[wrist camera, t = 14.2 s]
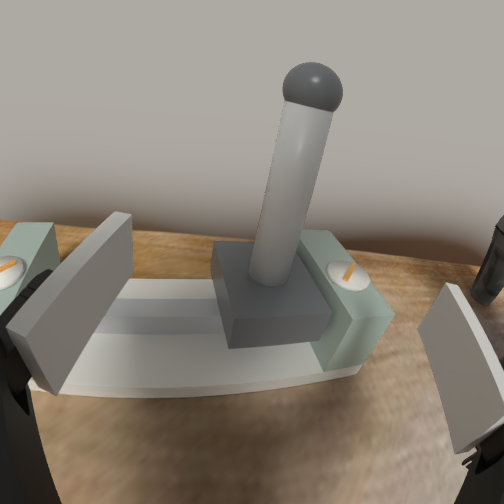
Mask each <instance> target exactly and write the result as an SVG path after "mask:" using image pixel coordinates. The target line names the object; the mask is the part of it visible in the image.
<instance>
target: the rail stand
mask: <svg viewBox="0 0 504 504" xmlns="http://www.w3.org/2000/svg"><path fill="white" fill-rule="evenodd" d="M296 252H297V254H298V256H299V257H300V259H301V261H302V262H303V264H304V265H305V267H306V269H307V270H308V272H309V274H310V275H311V277H312V279H313V280H314V282H315V284H316V285H317V287H318V289H319V290H320V292H321V294H322V295H323V297H324V299H325V300H326V302H327V304H328V305H329V307H330V309H331V310H332V312H333V313H332V315H331V317H330V319H329V322H328V324H327V326H326V328H325V330H324V332H323V334H322V336H321V338H320V340H319V341H312V342H304V343H295V344H285V345H274V346H263V347H250V348H236V349H228V345H227V341H226V337H225V332H224V328H223V324H222V320H221V315H220V311H219V307H218V302H217V298H216V293H215V289H214V284H213V280H212V279H129V280H128V281H127V283H126V284H125V286H124V287H123V289H122V290H121V291H120V293H119V294H118V296H117V297H116V299H115V300H114V302H113V304H112V305H111V307H110V308H109V310H108V311H107V313H106V314H105V316H104V317H103V319H102V320H101V322H100V324H99V325H98V327H97V328H96V330H95V332H94V333H93V335H92V336H91V338H90V340H89V341H88V343H87V345H86V346H85V348H84V350H83V351H82V353H81V355H80V356H79V358H78V360H77V361H76V363H75V365H74V366H73V368H72V370H71V372H70V373H69V375H68V377H67V379H66V380H65V382H64V384H63V386H62V388H61V389H60V391H59V394H69V395H81V396H95V397H115V398H180V397H201V396H216V395H228V394H239V393H248V392H257V391H265V390H272V389H280V388H286V387H293V386H299V385H305V384H311V383H316V382H322V381H327V380H332V379H337V378H341V377H346V376H351V375H355V374H357V373H358V371H359V370H360V368H361V367H362V365H363V364H364V362H365V361H366V360H367V358H368V357H369V355H370V354H371V352H372V351H373V349H374V347H375V346H376V344H377V343H378V341H379V340H380V338H381V337H382V335H383V333H384V332H385V330H386V329H387V327H388V325H389V324H390V322H391V320H392V319H393V317H394V315H395V313H394V311H393V310H392V309H391V307H390V306H389V305H388V303H387V302H386V301H385V299H384V298H383V297H382V296H381V294H380V293H379V292H378V290H377V289H376V288H375V286H374V285H373V284H372V283H371V281H370V278H369V275H368V274H367V272H366V271H365V270H364V269H362V268H361V267H360V266H358V265H357V264H356V262H355V261H354V260H353V259H352V257H351V256H350V255H349V254H348V252H347V251H346V250H345V249H344V248H343V246H342V245H341V244H340V243H339V241H338V240H337V239H336V238H335V237H334V236H333V234H332V233H331V232H330V231H329V230H311V229H302V232H301V235H300V239H299V242H298V246H297V249H296ZM60 264H61V261H60V256H59V251H58V245H57V240H56V233H55V227H54V223H17V224H16V225H15V227H14V228H13V229H12V231H11V232H10V234H9V235H8V236H7V238H6V239H5V241H4V242H3V244H2V245H1V247H0V315H1V314H2V313H3V311H4V310H5V309H6V308H7V307H8V306H9V304H10V303H11V302H12V301H13V300H14V299H15V298H16V297H17V296H19V293H20V292H21V291H22V290H23V289H24V288H26V286H27V284H28V283H29V282H30V281H31V280H32V279H33V278H34V277H35V276H36V275H38V274H40V273H41V272H43V271H45V270H47V269H50V270H53V271H54V270H55V269H56V268H57V267H58V266H59V265H60ZM28 386H29V388H30V390H35V391H43V392H47V391H45V390H43V389H41V388H39V387H38V386H37V384H36V383H35V381H34V379H33V378H32V377H31V379H30V380H29V382H28Z"/></svg>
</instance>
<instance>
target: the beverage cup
mask: <svg viewBox="0 0 504 504" xmlns="http://www.w3.org/2000/svg"><path fill="white" fill-rule="evenodd" d="M495 227H496V228H495V231H494V234H493V237H492V242H491V244H490V247H489V249H488V252H487V254H486V256H485V259H484V261H483V264H482V265H481V268H480V270H479V272H478V274H477V276H476V279H475V281H474V283H473V286H472V288H471V290H470V293H471V295H472V297H473V298H474V299H475V300H476V301H477V302H479V303H480V304H482V305H484V306H489V305H490V303H491V302H492V301H493V300H494V299H495V298H496V296H497V295H498V294H499V292H500V291H501V290H502V288H503V287H504V216H503V217H502V218H501V219H500V220H499V222H498V223H497V225H496V226H495Z"/></svg>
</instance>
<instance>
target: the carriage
mask: <svg viewBox="0 0 504 504" xmlns="http://www.w3.org/2000/svg"><path fill="white" fill-rule="evenodd" d="M283 96H284V99H285V102H284V106H283V111H282V116H281V120H280V125H279V130H278V135H277V139H276V144H275V149H274V153H273V158H272V163H271V167H270V173H269V177H268V182H267V186H266V191H265V196H264V200H263V205H262V210H261V215H260V220H259V224H258V228H257V233H256V238H255V242H229V241H214V245H213V253H212V261H211V269H210V270H211V275H212V280H213V284H214V289H215V293H216V298H217V302H218V307H219V311H220V315H221V320H222V324H223V328H224V332H225V337H226V341H227V345H228V349H236V348H250V347H263V346H274V345H285V344H295V343H304V342H312V341H319V340H320V338H321V336H322V334H323V332H324V330H325V328H326V326H327V324H328V322H329V319H330V317H331V315H332V313H333V312H332V310H331V309H330V307H329V305H328V304H327V302H326V300H325V299H324V297H323V295H322V294H321V292H320V290H319V289H318V287H317V285H316V284H315V282H314V280H313V279H312V277H311V275H310V274H309V272H308V270H307V269H306V267H305V265H304V264H303V262H302V261H301V259H300V257H299V256H298V254H297V252H296V249H297V246H298V242H299V239H300V235H301V232H302V228H303V225H304V222H305V218H306V214H307V210H308V207H309V204H310V200H311V197H312V193H313V189H314V186H315V182H316V178H317V175H318V171H319V167H320V163H321V159H322V156H323V152H324V148H325V144H326V140H327V136H328V132H329V128H330V124H331V121H332V116H333V112H334V111H335V110H336V109H337V108H338V106H339V105H340V103H341V100H342V96H343V89H342V84H341V81H340V79H339V78H338V76H337V75H336V73H335V72H334V71H333V70H331V69H330V68H329V67H327V66H325V65H323V64H320V63H315V62H309V63H303V64H299V65H297V66H296V67H294V68H293V69H292V70H290V72H289V73H288V74H287V76H286V77H285V79H284V82H283Z"/></svg>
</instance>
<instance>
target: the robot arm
mask: <svg viewBox="0 0 504 504" xmlns="http://www.w3.org/2000/svg"><path fill="white" fill-rule="evenodd" d="M133 272H134V266H133V243H132V215H131V214H126V213H121V212H116V211H115V212H114V213H113V214H112V215H111V216H109V217H108V218H107V219H106V220H105V221H104V222H103V223H102V224H101V225H100V226H99V227H97V228H96V229H95V230H94V231H93V232H92V233H91V234H90V235H89V236H88V237H87V238H86V239H85V240H84V241H83V242H82V243H81V244H80V245H79V246H78V247H77V248H76V249H75V250H74V251H73V252H72V253H71V254H70V255H69V256H68V257H67V258H66V259H65V260H64V261H63V262H62V263H61V264H60V265H59V266H58V267H57V268H56V269H55V270H54V271H53V270H50V269H47V270H45V271H43V272H41V273H40V274H38V275H36V276H35V277H34V278H33V279H32V280H31V281H30V282H29V283H28V284H27V286H26V288H24V289H23V290H22V291H21V292H20V293H19V296H17V297H16V298H15V299H14V300H13V301H12V302H11V303H10V304H9V306H8V307H7V308H6V309H5V310H4V311H3V313H2V314H1V315H0V504H62V503H61V501H60V498H59V496H58V493H57V490H56V488H55V485H54V482H53V479H52V476H51V473H50V470H49V467H48V464H47V461H46V457H45V454H44V450H43V447H42V443H41V439H40V435H39V431H38V427H37V423H36V418H35V413H34V408H33V403H32V398H31V392H30V388H29V386H28V382H29V380H30V379H31V377H32V378H33V379H34V381H35V383H36V384H37V386H38V387H39V388H41V389H43V390H45V391H47V392H49V393H51V394H53V395H55V396H57V395H58V393H59V391H60V389H61V388H62V386H63V384H64V382H65V380H66V379H67V377H68V375H69V373H70V372H71V370H72V368H73V366H74V365H75V363H76V361H77V360H78V358H79V356H80V355H81V353H82V351H83V350H84V348H85V346H86V345H87V343H88V341H89V340H90V338H91V336H92V335H93V333H94V332H95V330H96V328H97V327H98V325H99V324H100V322H101V320H102V319H103V317H104V316H105V314H106V313H107V311H108V310H109V308H110V307H111V305H112V304H113V302H114V300H115V299H116V297H117V296H118V294H119V293H120V291H121V290H122V289H123V287H124V286H125V284H126V283H127V281H128V280H129V278H130V277H131V275H132V274H133ZM417 329H418V332H419V334H420V337H421V340H422V342H423V345H424V348H425V351H426V354H427V357H428V360H429V363H430V366H431V369H432V372H433V375H434V378H435V381H436V384H437V388H438V391H439V394H440V398H441V401H442V405H443V408H444V412H445V416H446V420H447V424H448V428H449V432H450V436H451V440H452V444H453V449H454V454H458V453H463V452H468V451H470V450H471V449H473V448H474V447H475V446H477V449H478V451H477V452H475V453H474V454H473V455H471V456H470V457H468V458H467V459H465V460H464V461H463V462H462V465H465V464H466V463H468V462H469V461H472V462H471V463H470V464H468V465H467V466H466V468H467V469H469V471H468V473H467V476H466V478H465V480H464V483H463V485H462V487H461V489H460V492H459V494H458V496H457V498H456V500H455V502H454V504H504V357H503V358H502V359H500V360H499V359H498V358H497V356H496V354H495V352H494V350H493V347H492V345H491V343H490V342H489V340H488V338H487V336H486V334H485V332H484V330H483V328H482V326H481V324H480V323H479V321H478V319H477V317H476V315H475V314H474V312H473V310H472V308H471V307H470V305H469V303H468V301H467V300H466V298H465V296H464V295H463V293H462V291H461V290H460V288H459V286H458V285H455V284H450V283H446V282H445V284H444V286H443V288H442V289H441V291H440V293H439V295H438V296H437V298H436V300H435V301H434V303H433V305H432V306H431V308H430V309H429V311H428V313H427V314H426V316H425V317H424V319H423V320H422V322H421V323H420V325H419V326H418V328H417Z"/></svg>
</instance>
